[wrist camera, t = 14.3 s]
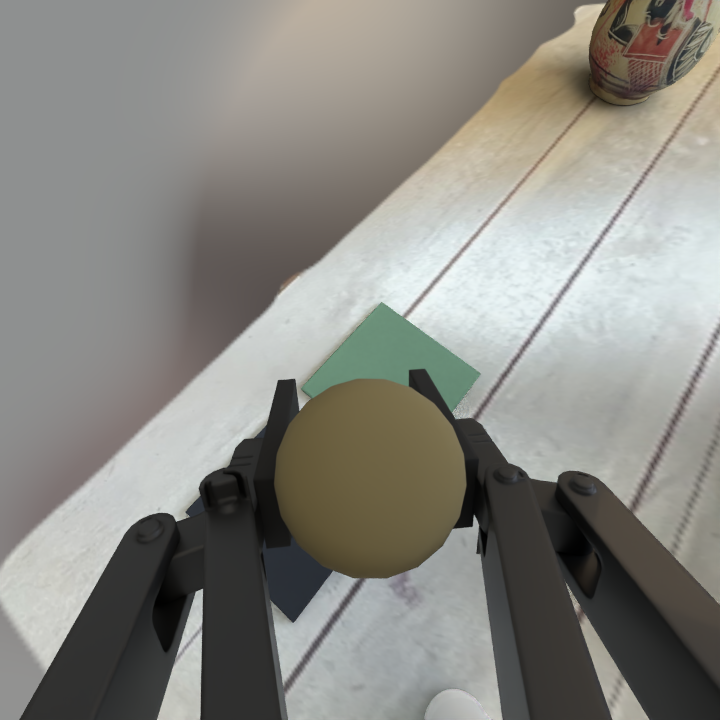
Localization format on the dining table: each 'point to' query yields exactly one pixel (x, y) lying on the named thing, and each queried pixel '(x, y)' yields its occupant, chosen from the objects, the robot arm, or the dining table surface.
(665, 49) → the ceramic jug
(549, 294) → the dining table surface
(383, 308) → the sage mat
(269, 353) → the dining table surface
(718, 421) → the dining table surface
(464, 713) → the drinking glass
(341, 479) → the olive game pawn
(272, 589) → the slate mat
